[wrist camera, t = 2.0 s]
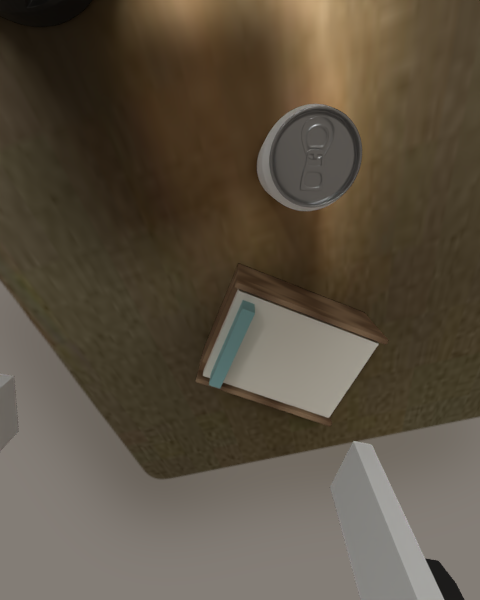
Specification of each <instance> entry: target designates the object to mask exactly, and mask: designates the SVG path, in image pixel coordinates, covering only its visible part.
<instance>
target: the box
mask: <svg viewBox="0 0 480 600" xmlns="http://www.w3.org/2000/svg"><path fill="white" fill-rule="evenodd" d="M238 289H241V290H243V291H246V292H249V293H251V294H254V295H257V296H259V297H262V298H264V299H267V300H270V301H272V302H275V303H278V304H280V305H283V306H285V307H288V308H291V309H293V310H296V311H299V312H301V313H304V314H307V315H309V316H312V317H314V318H317V319H320V320H322V321H325V322H328V323H330V324H333V325H335V326H338V327H341V328H343V329H346V330H349V331H351V332H354V333H356V334H359V335H362V336H364V337H367V338H370V339H372V340H375V341H377V342H380V343H383V344H385V345H386V344H387V343H388V341H389V340H388V339H387V338H386V337H385V336H384V334H383V333H382V332H381V331H380V330H379V329H378V328H377V326H376V325H375V324H374V323H373V322H372V321H371V319H370V318H369V317H368V316H367V315H366V314H365V313H364V312H362V311H359V310H357V309H354V308H352V307H349V306H347V305H344V304H341V303H339V302H336V301H334V300H331V299H329V298H326V297H324V296H321V295H318V294H316V293H313V292H311V291H308V290H306V289H303V288H301V287H298V286H296V285H293V284H290V283H288V282H285V281H283V280H280V279H278V278H275V277H273V276H270V275H267V274H265V273H262V272H260V271H257V270H255V269H252V268H250V267H247V266H245V265H242V264H239V263H238V266H237V268H236V271H235V273H234V275H233V278H232V280H231V283H230V285H229V288H228V290H227V293H226V295H225V298H224V300H223V302H222V305H221V307H220V310H219V312H218V315H217V317H216V320H215V322H214V324H213V327H212V329H211V332H210V334H209V337H208V339H207V342H206V344H205V346H204V349H203V353H202V357H201V361H200V365H199V369H198V373H197V377H196V381H195V382H198V383H201V384H204V385H207V386H210V385H209V381H210V378H208V377H205V376H203V371H204V368H205V366H206V363H207V361H208V358H209V356H210V354H211V351H212V349H213V347H214V344H215V342H216V340H217V337H218V335H219V332H220V330H221V328H222V325H223V323H224V321H225V318H226V316H227V314H228V311H229V309H230V306H231V304H232V302H233V299H234V297H235V295H236V292H237V290H238ZM210 387H213V386H210ZM213 388H216V387H213ZM216 389H219V388H216ZM219 390H222V391H225V392H228V393H231V394H234V395H237V396H240V397H243V398H246V399H249V400H252V401H255V402H258V403H261V404H264V405H267V406H270V407H273V408H276V409H279V410H282V411H285V412H288V413H291V414H294V415H297V416H300V417H303V418H306V419H309V420H312V421H315V422H318V423H321V424H324V425H327V426H331V424H332V422H331V419H330V417H329V418H327V417H324V416H321V415H318V414H315V413H312V412H309V411H306V410H303V409H300V408H297V407H294V406H291V405H288V404H285V403H282V402H279V401H276V400H273V399H270V398H267V397H264V396H261V395H258V394H255V393H252V392H249V391H247V390H244V389H241V388H238V387H235V386H232V385H229V384H226V383H223V384H222V386H221V388H220V389H219Z"/></svg>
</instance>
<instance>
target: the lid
mask: <svg viewBox="0 0 480 600" xmlns="http://www.w3.org/2000/svg"><path fill="white" fill-rule="evenodd" d="M377 346H378V342H377V341H375V340H372V339H370V338H367V337H364V336H362V335H359V334H356V333H354V332H351V331H349V330H346V329H343V328H341V327H338V326H335V325H333V324H330V323H328V322H325V321H322V320H320V319H317V318H314V317H312V316H309V315H307V314H304V313H301V312H299V311H296V310H293V309H291V308H288V307H285V306H283V305H280V304H278V303H275V302H272V301H270V300H267V299H264V298H262V297H259V296H257V295H254V294H251V293H249V292H246V291H243V290H241V289H238V290H237V292H236V295H235V297H234V299H233V302H232V304H231V306H230V309H229V311H228V314H227V316H226V318H225V321H224V323H223V325H222V328H221V330H220V332H219V335H218V337H217V340H216V342H215V344H214V347H213V349H212V351H211V354H210V356H209V358H208V361H207V363H206V366H205V368H204V371H203V376H205V377H208V378H210V381H209V385H210V386H213V387H216V388H219V389H220V388H221V386H222V384H223V383H226V384H229V385H232V386H235V387H238V388H241V389H244V390H247V391H249V392H252V393H255V394H258V395H261V396H264V397H267V398H270V399H273V400H276V401H279V402H282V403H285V404H288V405H291V406H294V407H297V408H300V409H303V410H306V411H309V412H312V413H315V414H318V415H321V416H324V417H327V418H329V417H330V415H331V414H332V413H333V411H334V410H335V408H336V407H337V405H338V404H339V402H340V401H341V399H342V398H343V396H344V395H345V393H346V392H347V390H348V389H349V387H350V386H351V384H352V383H353V381H354V380H355V378H356V377H357V376H358V374H359V373H360V371H361V370H362V368H363V367H364V365H365V364H366V362H367V361H368V359H369V358H370V356H371V355H372V353H373V352H374V350H375V349H376V347H377Z"/></svg>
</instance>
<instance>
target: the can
mask: <svg viewBox="0 0 480 600" xmlns="http://www.w3.org/2000/svg"><path fill="white" fill-rule="evenodd" d="M361 159H362V144H361V139H360V135H359V133H358V130H357V128H356V126H355V125H354V123H353V122H352V121H351V119H350V118H349V117H348V116H346V115H345V114H344V113H343V112H341V111H339V110H337V109H335V108H333V107H330V106H327V105H323V104H308V105H303V106H300V107H298V108H295V109H293V110H291V111H290V112H288V113H287V114H285V115H284V116H283V117H281V118H280V119H279V120H278V121H277V122H276V124H275V125H274V126H273V127H272V129H271V130H270V132H269V134H268V135H267V137H266V139H265V141H264V143H263V145H262V147H261V149H260V152H259V155H258V159H257V174H258V178H259V181H260V183H261V185H262V187H263V188H264V190H265V191H266V192H267V193H268V194H269V195H270V196H272V197H273V198H274V199H275V200H277V201H278V202H279V203H281V204H283V205H284V206H286V207H288V208H291V209H294V210H298V211H314V210H318V209H321V208H324V207H326V206H328V205H330V204H332V203H333V202H335V201H336V200H338V199H339V198H340V197H341V196H342V195H343V194H344V193H345V192H346V191H347V190H348V189H349V188H350V186H351V185H352V183H353V182H354V180H355V178H356V176H357V174H358V171H359V168H360V165H361Z"/></svg>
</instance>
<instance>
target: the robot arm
mask: <svg viewBox="0 0 480 600" xmlns="http://www.w3.org/2000/svg"><path fill="white" fill-rule="evenodd" d="M91 1H92V0H0V16H2V17H4V18H6V19H8V20H10V21H13V22H16V23H19V24H23V25H27V26H35V27H45V26H53V25H57V24H60V23H63V22H66V21H68V20H70V19H72V18H73V17H75V16H76V15H78V14H79V13H80V12H82V11H83V10H84V9H85V8H86V7H87V6H88V5H89V4H90V2H91ZM16 404H17V403H16V391H15V380H14V376H12V375H6V374H1V373H0V451H1V450H2V449H3V448H4V447H5V446H6V445H7V443H8V442H9V441H10V440H11V439H12V438H13V437H14V436H15V435H16V433H17V432H18V431H19V428H18V417H17V405H16ZM330 489H331V492H332V496H333V500H334V503H335V507H336V511H337V514H338V519H339V522H340V526H341V530H342V533H343V537H344V541H345V545H346V548H347V552H348V556H349V559H350V563H351V567H352V571H353V574H354V578H355V582H356V585H357V589H358V593H359V596H360V600H464V598H463V596H462V594H461V592H460V590H459V588H458V586H457V584H456V583H455V581H454V580H453V579H452V578H451V576H450V575H449V574H448V572H447V571H446V570H445V569H444V567H443V566H442V565H441V563H440V562H439V561H436V560H430V559H425V557H424V555H423V553H422V551H421V549H420V547H419V545H418V543H417V540H416V538H415V536H414V534H413V532H412V530H411V527H410V526H409V523H408V521H407V519H406V517H405V515H404V513H403V510H402V508H401V506H400V504H399V502H398V500H397V498H396V495H395V493H394V491H393V489H392V487H391V485H390V483H389V481H388V478H387V476H386V474H385V472H384V470H383V468H382V466H381V464H380V461H379V459H378V457H377V455H376V453H375V451H374V448H373V446H372V445H371V444H367V443H362V442H356V441H353V443H352V445H351V447H350V449H349V450H348V452H347V454H346V457H345V458H344V460H343V463H342V464H341V466H340V468H339V470H338V472H337V474H336V476H335V478H334V480H333V482H332V484H331V486H330Z"/></svg>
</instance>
